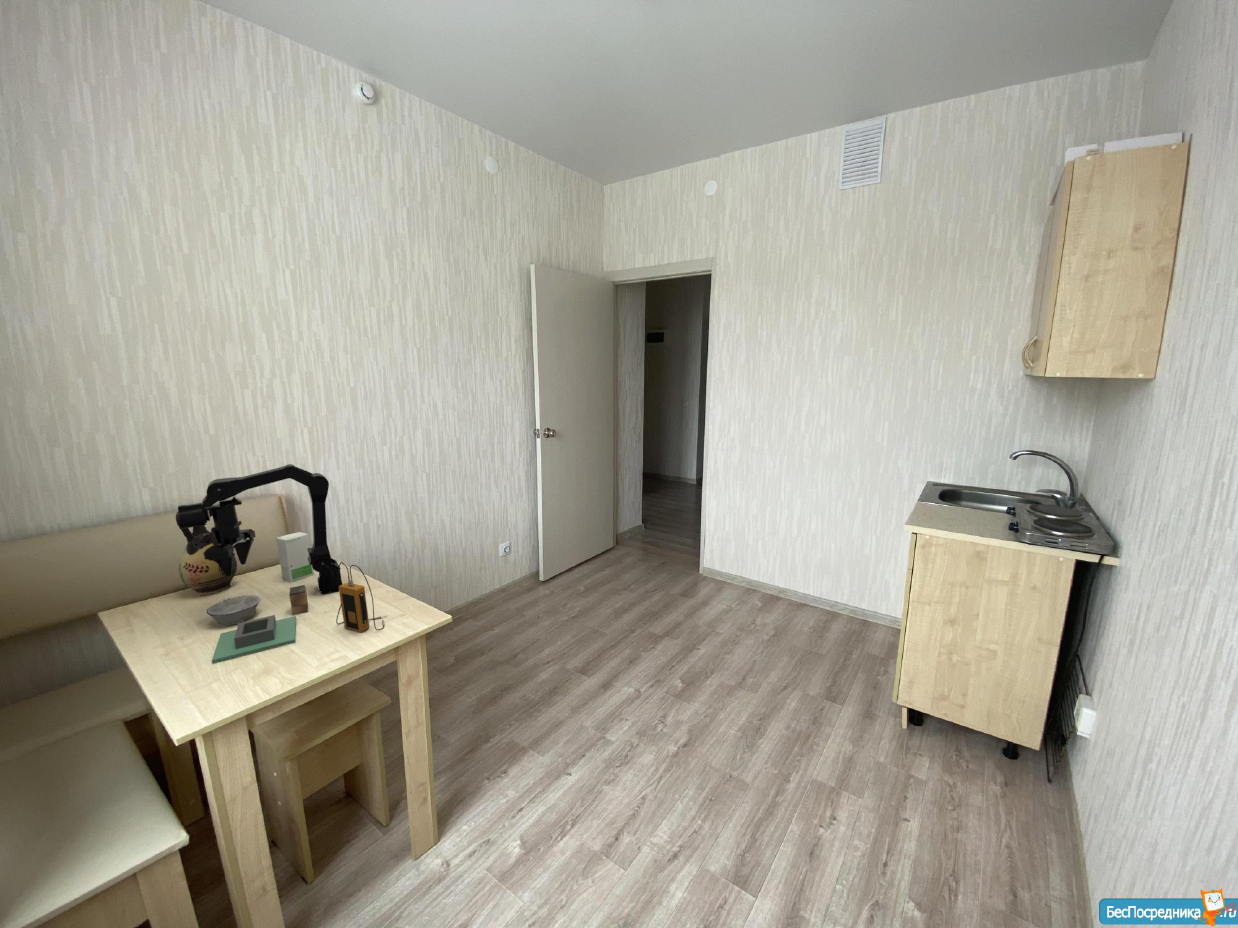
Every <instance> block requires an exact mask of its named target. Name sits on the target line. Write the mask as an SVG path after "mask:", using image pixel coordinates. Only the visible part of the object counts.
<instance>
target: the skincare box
mask: <svg viewBox="0 0 1238 928" xmlns="http://www.w3.org/2000/svg"><path fill="white" fill-rule="evenodd" d="M276 543H277V550H278V558H279V564H280V570H281V576H282V577H281V578H282V579H283V580H285V581H288V582H290V583H292V582H294V581H295V582H296V581H298V580H301V579H304V578H307V577H310V576H314V574H315V573H314V569H313V567H312V565H310V564H309V562H308V556H309V554H308V550H307V548H311V545H310V537H309V533H306V532H301V531H297V532H295V533H293V532H292V533H289V534H286V535H282V536H277V537H276Z"/></svg>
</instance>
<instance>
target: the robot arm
mask: <svg viewBox="0 0 1238 928" xmlns="http://www.w3.org/2000/svg"><path fill="white" fill-rule="evenodd" d="M289 479H291V480H293V481H295V482H297V483H299V484H301V485H304V486H306V487H307V491H308V494H309V498H310V502H311V515H312V516H311V519H312V522H311V523H312V539H313V541H312V542H313V543H312V546H311V547H310V548H307V550H308V554H309V556H308V562H309V564H310V565H312V567H313V571H315V572H316V573H318V577H317V585H318V591H319V592H320V594H321V595H326V594H331V593H335V592H336V593H337V592H339V586H340V584H341V585H343V584H344V583H343V582H342V581H343V580H342V573H341V566H340V567H339V562H338V561H337V560H336V559H334V558H332V556H331V553H330V550H329V546H328V540H327V538H328V534H327V533H328V532H327V514H326V500H327V497H328V492H329V487H330V483H329V480H328V479H327V477H326V476H325V475H323V474H322V473H319V472H315V473H314V472H310V471H308V470H305V469H303V468H301V467H297V466H296V465H294V464H292V463H290V464H289V463H287V464H285V465H284V466H279V467H276V468H275V467H274V468H271V469H267V470H263V471H260V472H257V473H252V474H249V475H245V476H238V477H226V478H225V477H224V478H217V479H214V480H212V481H210V482H209V483H208V485H207V488H206V495H205V496H204V498H202V501H201V502H195V503H192V504H191V503H190V504H180V505H178V506H177V510H178V511H177V512H178V513H179V523H180V527H181V529H185V528H189V529H191V528H193V527H197V526H202V525H204V526H206V525H207V523H208V522H210V521H211V517H212V520H213V525H214V526H213V527H211V528H210V531H209V533H207V534H205V535H201V534H200V535H198V536H195V537H194V538H192V539H193V541H192V542H193V546H194V547H197V548H199V550H200V549H202V548H203V547H205V546H207V545H210V544H212V543H213V545H214V546H211V547H209V548H208V549H206V550H205V552H204V553H203V555H204V559H205V560H206V559H208V560H209V561H211V560H212V561H215V562H217V564H218V565H219V566H220V567H221V569H222V570H223V571H224V573H225V574H226V576H231V575H232V570H233V564H234V557H235V558H236V555H237V558H238V560H239V563H240V564H241V565H245V564H246V563H247V560H248V558H249V554H250V550H251V548H252V545H253V543H254V541H255V538H256V532H255V530H253V529H251V528H247V529H240V526H241V525H242V524H243V523H242V520H238V514H237V509H236V506H241V505H242V504H243V501H242V500H241V499H239V498H238V497H236V496H237V495H239V494H241V493H242V492H245V491H247V490H251V489H254V488H257V487H261V486H265V485H268V484H269V485H270V484H272V483H276V482H280V481H284V480H289ZM230 498H231V499H230ZM216 503H218V504H216ZM209 510H211V512H212V516H211V517H210V514H209ZM181 529H180V530H181ZM218 544H221V545H218ZM235 552H236V553H235ZM338 567H339V571H338ZM337 572H338V576H339V581H340V584H339V581H338V576H337Z"/></svg>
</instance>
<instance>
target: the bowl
mask: <svg viewBox="0 0 1238 928" xmlns="http://www.w3.org/2000/svg"><path fill="white" fill-rule="evenodd" d="M260 602H261V597H259V596H257V595H253V594H252V595H247V594H246V595H241V596H240V595H239V596H234V597H229V598H227V599H223V600H222V601H219V602H216V603H214V604H212V605H211V606H209V608H207V609H206V614H207V615H209V616H210V617H211V618H212V619H213V620H214V621H216V622H217V623H219V624H220V625H222V626H230V625H231V626H232V625H237V624H238V623H241V622H246V621H248V620H249V619H250V618H251V617H253V615H254V613H255V611H256V609H257V607H258V605H259V603H260Z"/></svg>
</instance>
